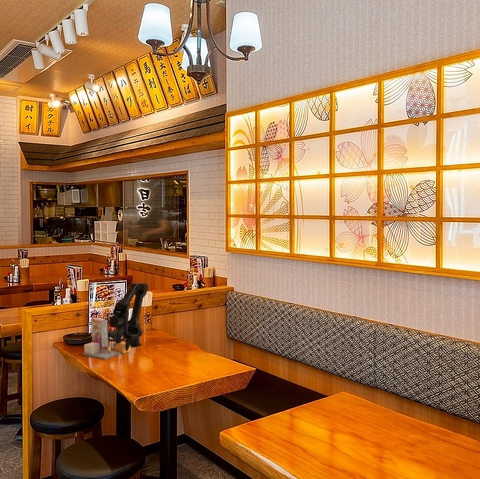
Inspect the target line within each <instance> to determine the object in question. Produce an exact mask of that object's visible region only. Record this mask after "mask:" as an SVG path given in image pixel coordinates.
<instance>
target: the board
mask: <svg viewBox="0 0 480 479" xmlns="http://www.w3.org/2000/svg"><path fill="white" fill-rule="evenodd" d="M83 345H84V346H83V347H84V352H82V355H83V356H86V357H91V358H96V359H100V360H101V359H102V360H107V359H110V358H113V357H116V356H118V355H121V353H120V352H118V351H116V350H112V346H111V345H108V346H107V347H106V349H105V348H101V347H100V344H99V343H94V342H92V341H91V342H89V343H85V344H83Z"/></svg>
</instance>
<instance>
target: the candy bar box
mask: <svg viewBox="0 0 480 479" xmlns="http://www.w3.org/2000/svg"><path fill="white" fill-rule="evenodd" d="M108 320H109V319H105V318H102V317H101V318H100V317H92V318H91V321H90V322H91V342H94V343H99V344H100V348H102V349H104V348H107V347H108V346H109V337H108V333H109V331H108V330H109V329H108V328H109V327H108V324H109V321H108Z"/></svg>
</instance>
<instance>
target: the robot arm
mask: <svg viewBox="0 0 480 479" xmlns="http://www.w3.org/2000/svg"><path fill="white" fill-rule="evenodd" d="M148 291H149V285H148V284H147V283H145V282H144V283H143V282H132V283H130V284H129V288H128V289H127V291H126V293H125V294H124V295H123V297H122V298H121V299H119V300H118V301H117V302H116V303H115V306H114V308H113V311H112V315H111V317H110V319H108V320H109V321H108V324H109V326H110V327H112V328H114V329H113V330H110V331H108V338H111V339H112V340H113V341H114V342H115V344H118V343H121V342H122V338H125V339H124V340H123V342H126V351H128V349H129V347H130V348H131V347H132V348H136V347H139V346H141V345H143V344H142V343H141V342H140V341H141V340H140V338H141V337H142V335H143V330H142V328H141V324H140V315H141V310H142V306H143V301H144V298H145V296H146V295H148V294H147V293H148ZM133 298H134V301H133V306H132V310H131V315H130V314H129V311H130V309H131V308H130V307H131V302H132V300H133ZM128 315H130V319H129V320H128Z"/></svg>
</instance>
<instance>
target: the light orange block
mask: <svg viewBox="0 0 480 479" xmlns="http://www.w3.org/2000/svg"><path fill="white" fill-rule="evenodd" d="M115 351H118V352H120V354H124V355H125V354H127V353H129V352H131V346H130V347H129V349H128V351H126V342H125V341H121V343H118V344H116V343H115Z"/></svg>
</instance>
